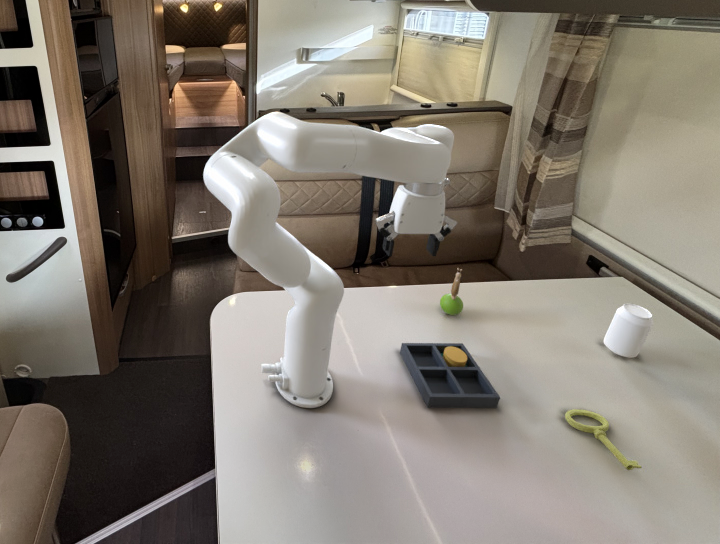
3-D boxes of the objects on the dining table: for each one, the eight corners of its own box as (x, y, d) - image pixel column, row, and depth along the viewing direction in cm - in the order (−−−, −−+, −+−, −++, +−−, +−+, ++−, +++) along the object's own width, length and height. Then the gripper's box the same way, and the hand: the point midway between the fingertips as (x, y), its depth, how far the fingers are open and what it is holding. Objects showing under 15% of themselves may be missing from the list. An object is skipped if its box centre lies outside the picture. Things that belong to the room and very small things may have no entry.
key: (628, 477, 76) (632, 469, 75) (558, 415, 87) (561, 408, 86) (656, 466, 78) (660, 458, 77) (584, 406, 89) (588, 399, 88)
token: (448, 372, 96) (450, 362, 95) (438, 355, 100) (440, 346, 99) (468, 372, 96) (471, 362, 95) (457, 355, 100) (460, 346, 99)
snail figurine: (461, 307, 116) (471, 271, 112) (460, 322, 111) (470, 285, 107) (439, 300, 119) (448, 265, 114) (437, 314, 114) (446, 277, 109)
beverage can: (642, 355, 101) (662, 315, 96) (627, 363, 99) (646, 323, 94) (611, 336, 106) (629, 298, 102) (596, 344, 104) (613, 305, 100)
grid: (427, 407, 89) (430, 396, 88) (399, 352, 102) (401, 342, 101) (496, 408, 89) (500, 397, 87) (459, 353, 102) (462, 343, 101)
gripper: (455, 176, 92) (439, 243, 99) (375, 176, 92) (365, 243, 99) (475, 192, 85) (456, 263, 92) (388, 192, 85) (376, 262, 92)
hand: (409, 252), depth 95 cm, fingers open, 9 cm apart
